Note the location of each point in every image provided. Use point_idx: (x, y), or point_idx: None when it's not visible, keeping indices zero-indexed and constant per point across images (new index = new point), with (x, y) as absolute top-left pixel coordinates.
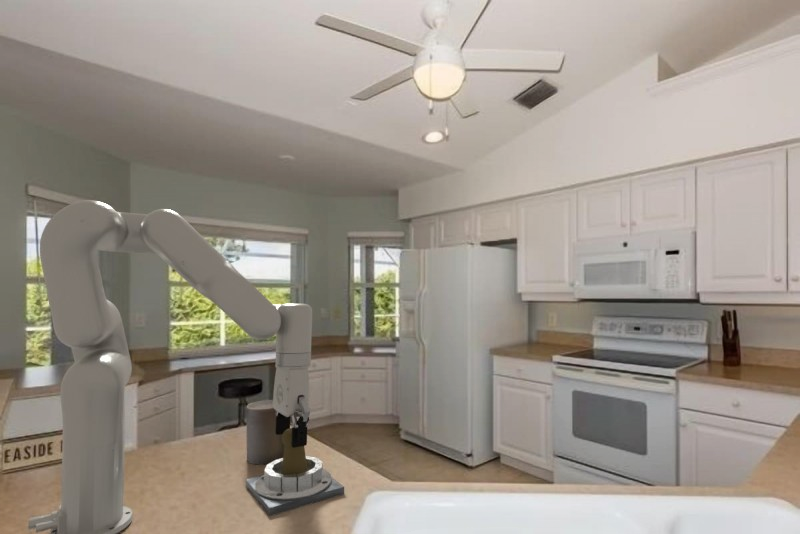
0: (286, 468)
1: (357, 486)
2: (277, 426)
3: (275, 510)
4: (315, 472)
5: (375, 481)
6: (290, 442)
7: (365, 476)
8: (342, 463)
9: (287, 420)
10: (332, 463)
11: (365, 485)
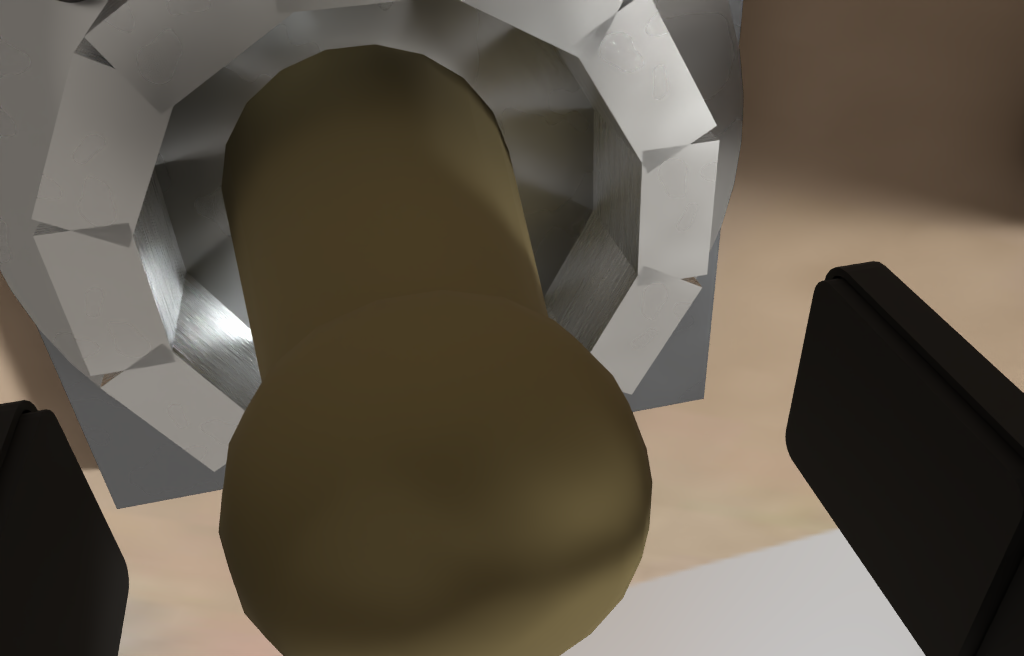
0: (291, 163)
1: (223, 557)
2: (902, 365)
3: None
4: (141, 411)
5: (253, 650)
6: (252, 410)
7: None
8: (651, 540)
9: (905, 578)
10: (695, 490)
11: (217, 597)
